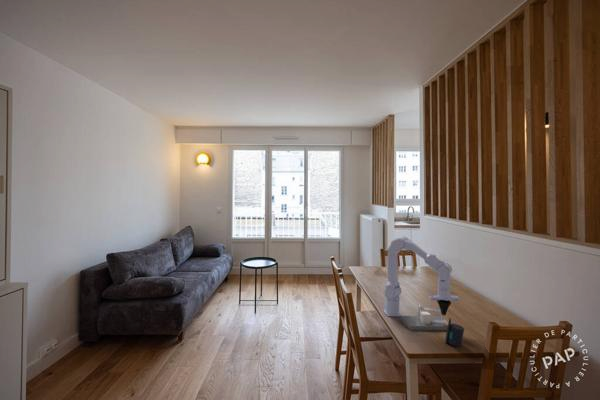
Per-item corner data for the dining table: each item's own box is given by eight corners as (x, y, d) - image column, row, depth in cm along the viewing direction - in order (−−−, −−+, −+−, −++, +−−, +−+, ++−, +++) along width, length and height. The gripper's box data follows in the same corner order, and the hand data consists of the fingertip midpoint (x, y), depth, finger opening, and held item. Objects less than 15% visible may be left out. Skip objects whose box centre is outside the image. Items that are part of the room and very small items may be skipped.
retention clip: (417, 316, 162) (417, 305, 162) (418, 315, 164) (419, 304, 164) (440, 322, 155) (440, 311, 155) (441, 321, 156) (441, 310, 156)
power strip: (400, 319, 163) (400, 314, 163) (440, 319, 164) (440, 314, 164) (410, 330, 150) (410, 324, 150) (453, 330, 151) (453, 325, 151)
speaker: (441, 342, 138) (444, 320, 137) (445, 338, 142) (448, 317, 141) (458, 350, 132) (462, 327, 132) (463, 346, 137) (466, 323, 136)
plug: (419, 323, 158) (419, 311, 158) (427, 323, 158) (427, 311, 158) (422, 327, 154) (423, 314, 154) (430, 327, 154) (430, 314, 154)
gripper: (433, 290, 149) (433, 317, 149) (462, 290, 149) (461, 317, 149) (427, 286, 156) (426, 312, 156) (454, 286, 156) (454, 312, 157)
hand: (443, 314), depth 153 cm, fingers closed
